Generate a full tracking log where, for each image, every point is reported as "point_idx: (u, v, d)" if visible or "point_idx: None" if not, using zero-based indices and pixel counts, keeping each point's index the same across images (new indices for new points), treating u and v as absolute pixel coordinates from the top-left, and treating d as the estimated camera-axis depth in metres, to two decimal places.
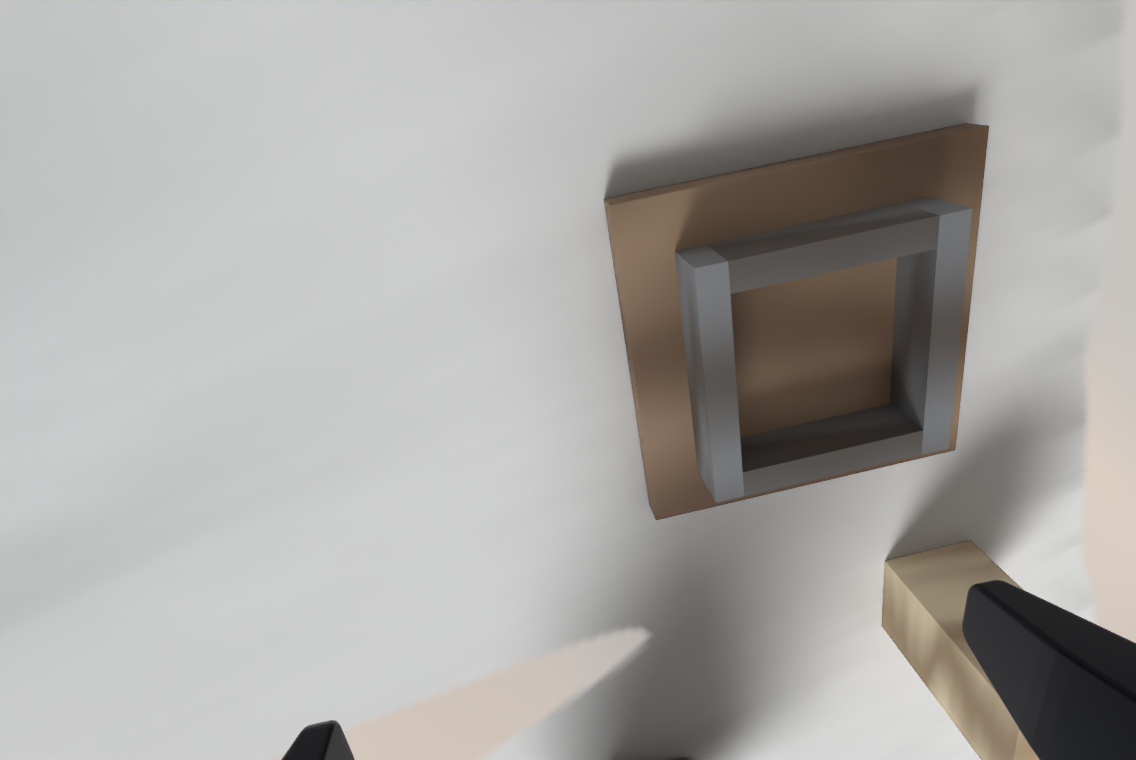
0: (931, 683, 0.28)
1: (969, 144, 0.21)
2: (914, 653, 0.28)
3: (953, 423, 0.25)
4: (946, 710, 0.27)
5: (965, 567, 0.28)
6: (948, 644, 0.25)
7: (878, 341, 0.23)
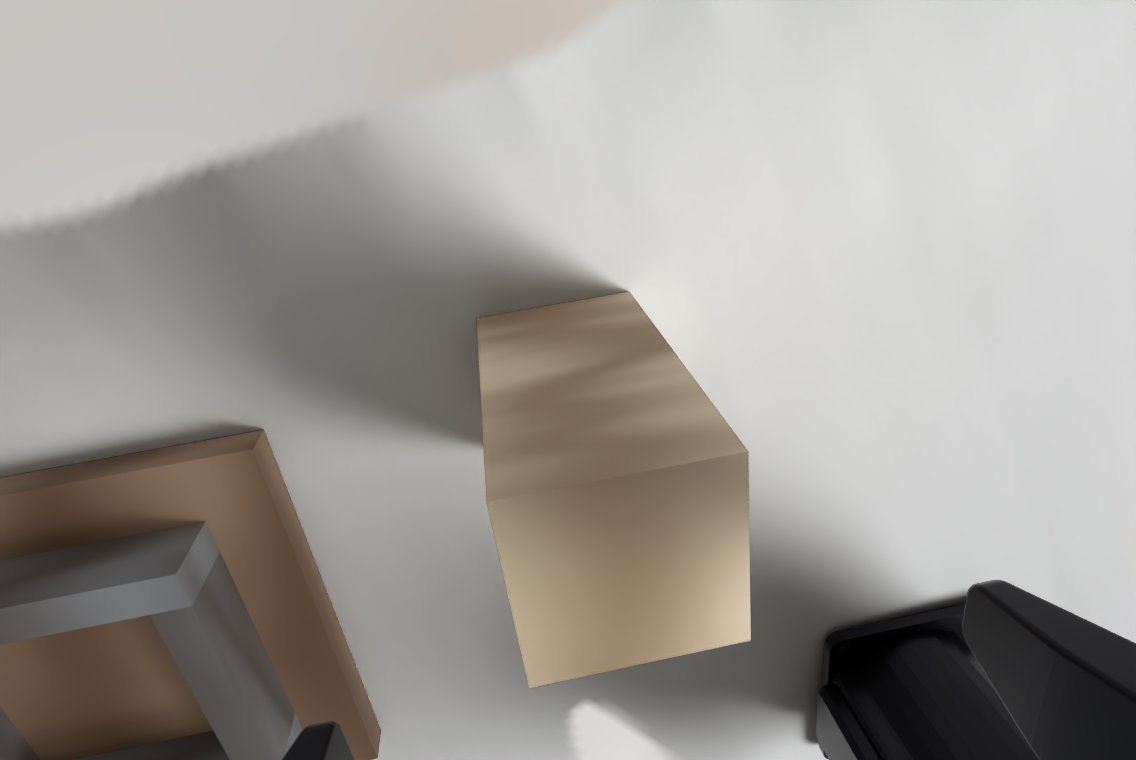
0: None
1: None
2: None
3: (204, 464, 0.16)
4: None
5: None
6: None
7: None
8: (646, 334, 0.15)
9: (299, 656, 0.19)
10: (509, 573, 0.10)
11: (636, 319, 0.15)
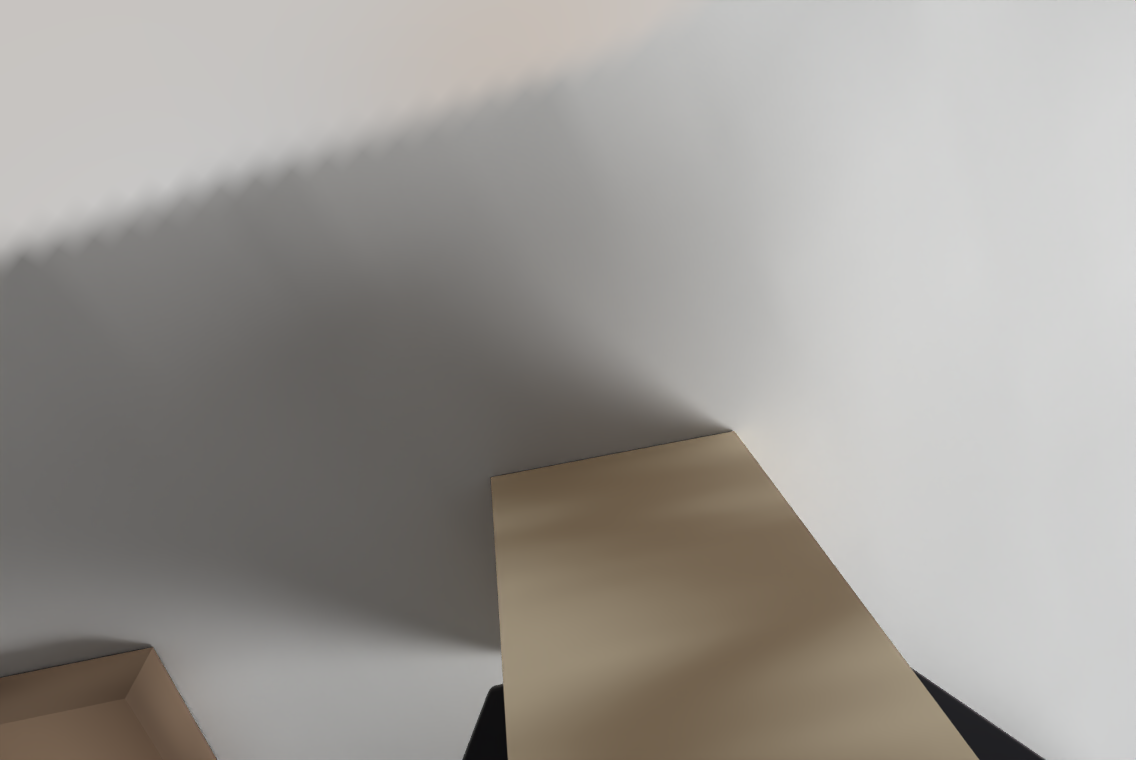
0: None
1: None
2: None
3: (45, 724, 0.10)
4: None
5: None
6: None
7: None
8: (798, 553, 0.08)
9: None
10: None
11: (767, 506, 0.09)
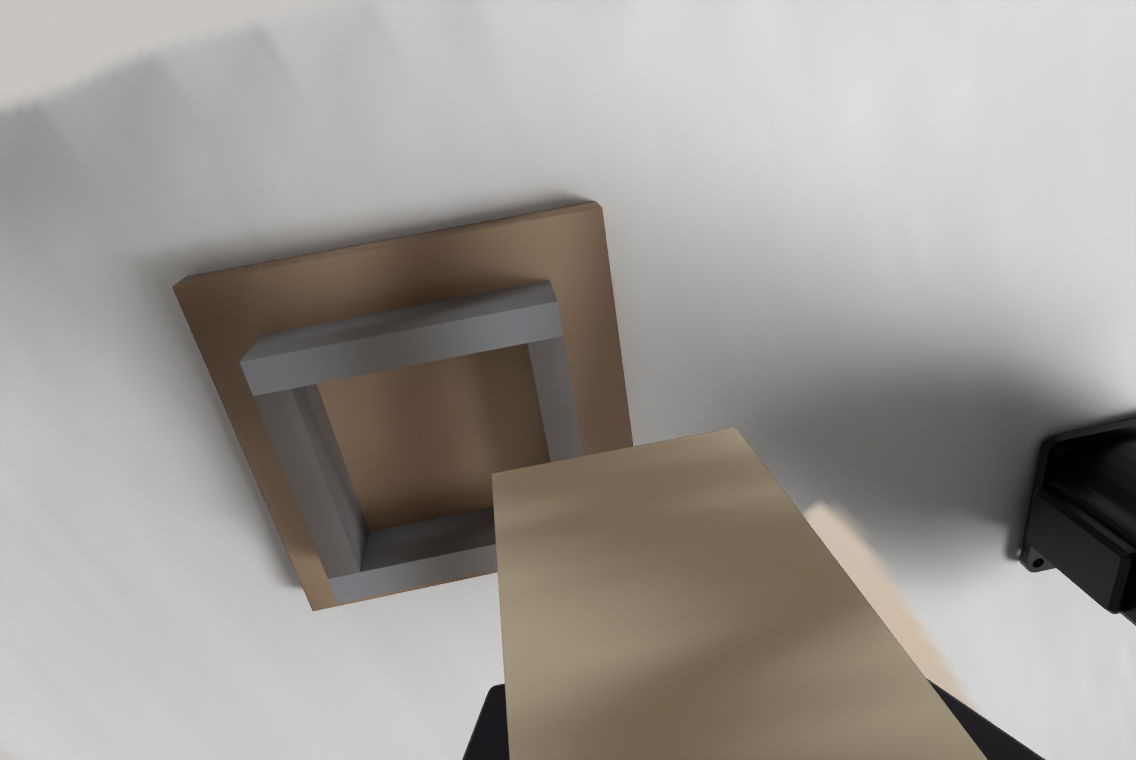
0: None
1: (197, 303, 0.18)
2: None
3: (559, 221, 0.19)
4: None
5: None
6: None
7: None
8: (801, 548, 0.08)
9: (600, 427, 0.22)
10: None
11: (769, 502, 0.09)
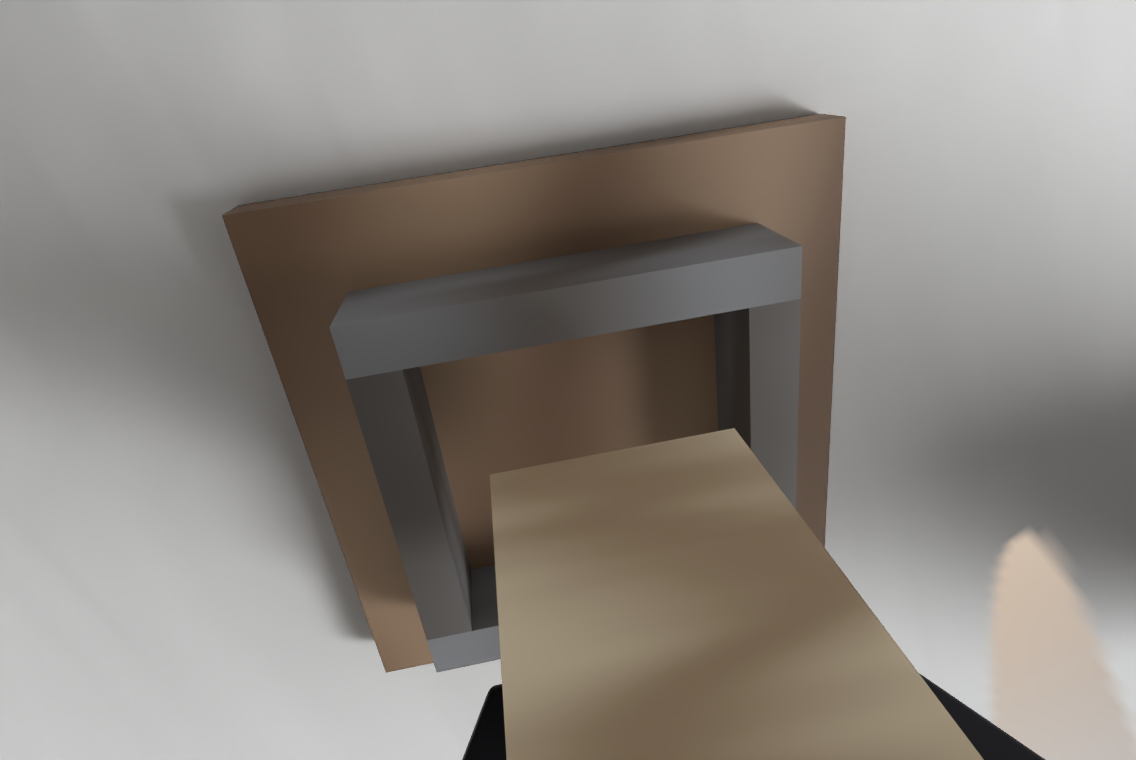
0: None
1: (257, 242, 0.12)
2: None
3: (784, 136, 0.13)
4: None
5: None
6: None
7: None
8: (800, 550, 0.08)
9: None
10: None
11: (767, 503, 0.09)
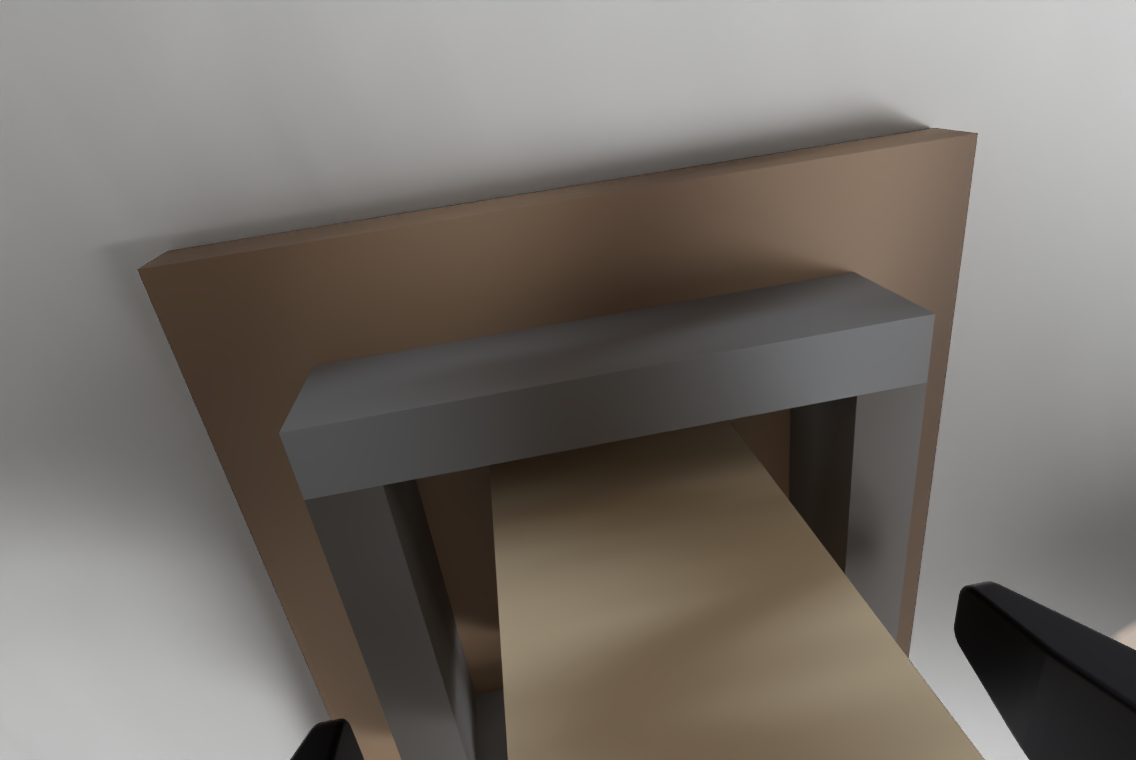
0: None
1: (187, 305, 0.09)
2: None
3: (896, 158, 0.10)
4: None
5: None
6: None
7: None
8: (783, 525, 0.08)
9: None
10: None
11: (754, 483, 0.09)
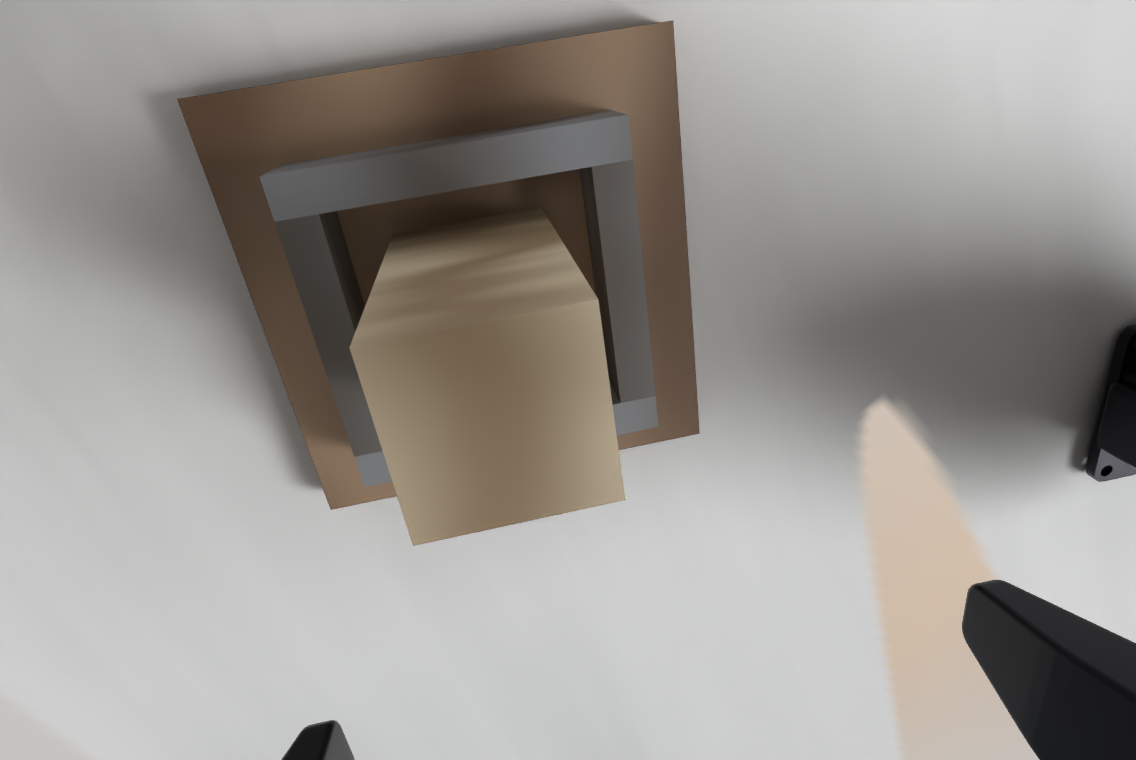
0: None
1: (206, 122, 0.16)
2: None
3: (625, 36, 0.16)
4: None
5: None
6: None
7: (482, 194, 0.17)
8: (543, 233, 0.15)
9: (657, 294, 0.19)
10: (380, 423, 0.11)
11: (538, 224, 0.16)
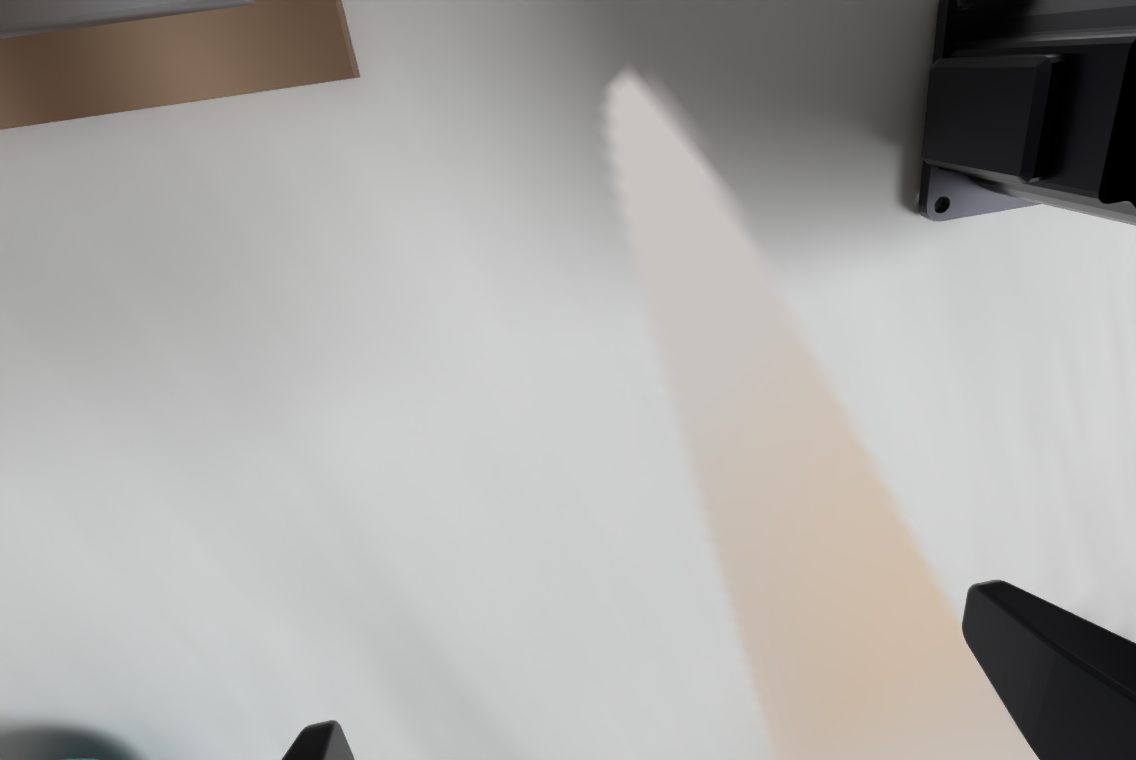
0: None
1: None
2: None
3: None
4: None
5: None
6: None
7: None
8: None
9: None
10: None
11: None
